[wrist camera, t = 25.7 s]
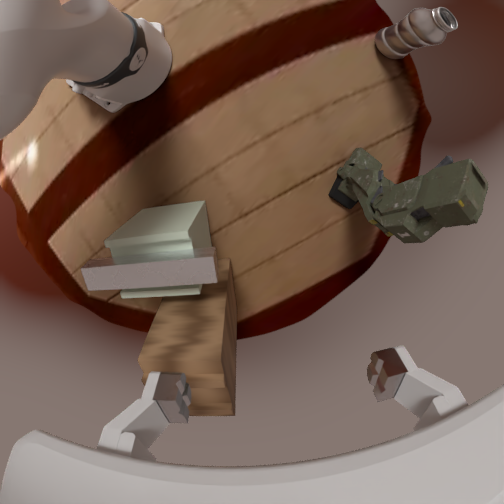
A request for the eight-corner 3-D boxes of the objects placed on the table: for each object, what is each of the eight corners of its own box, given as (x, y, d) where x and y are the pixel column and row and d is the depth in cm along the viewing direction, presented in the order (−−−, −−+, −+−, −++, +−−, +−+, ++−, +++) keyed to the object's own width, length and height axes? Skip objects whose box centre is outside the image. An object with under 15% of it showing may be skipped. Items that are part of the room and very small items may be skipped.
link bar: (97, 280, 36) (88, 290, 33) (90, 259, 34) (80, 268, 31) (219, 271, 36) (217, 282, 33) (215, 246, 34) (213, 256, 31)
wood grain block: (191, 312, 56) (165, 420, 31) (179, 262, 51) (134, 367, 27) (237, 309, 56) (235, 422, 31) (230, 258, 51) (220, 368, 26)
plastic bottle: (386, 66, 36) (452, 44, 18) (364, 38, 34) (422, 2, 16) (405, 54, 35) (471, 34, 17) (385, 28, 33) (443, -5, 14)
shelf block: (152, 253, 50) (122, 298, 36) (142, 209, 47) (103, 241, 32) (212, 247, 50) (200, 294, 36) (205, 200, 47) (187, 230, 32)
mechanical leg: (344, 229, 49) (473, 270, 20) (313, 209, 47) (440, 234, 18) (373, 168, 47) (504, 159, 18) (346, 146, 46) (475, 114, 16)
